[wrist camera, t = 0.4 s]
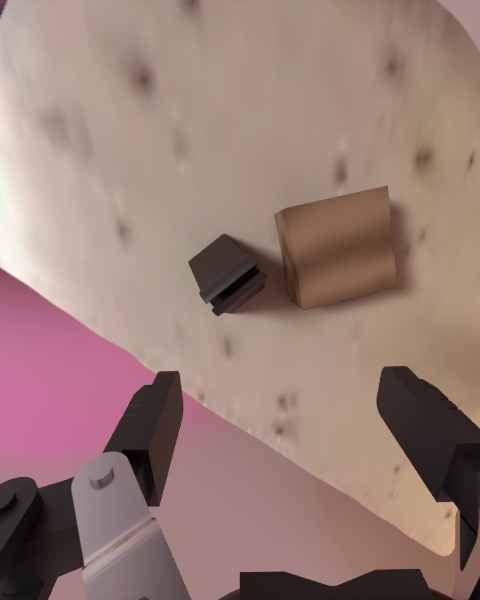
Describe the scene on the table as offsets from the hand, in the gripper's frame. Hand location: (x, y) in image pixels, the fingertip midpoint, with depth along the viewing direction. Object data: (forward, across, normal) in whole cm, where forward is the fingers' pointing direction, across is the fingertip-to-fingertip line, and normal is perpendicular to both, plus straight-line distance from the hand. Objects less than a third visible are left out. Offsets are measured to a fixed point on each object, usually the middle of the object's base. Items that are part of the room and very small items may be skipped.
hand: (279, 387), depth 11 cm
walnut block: (+29, -10, 0) cm, 30 cm away
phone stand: (+27, +3, +2) cm, 27 cm away
